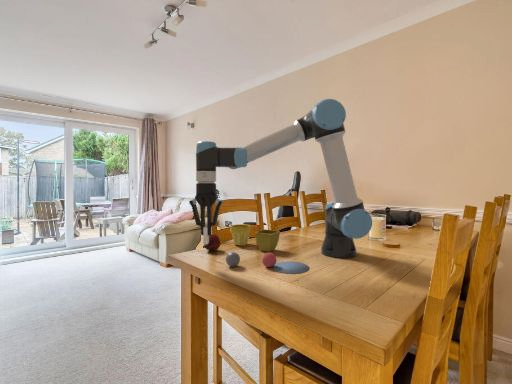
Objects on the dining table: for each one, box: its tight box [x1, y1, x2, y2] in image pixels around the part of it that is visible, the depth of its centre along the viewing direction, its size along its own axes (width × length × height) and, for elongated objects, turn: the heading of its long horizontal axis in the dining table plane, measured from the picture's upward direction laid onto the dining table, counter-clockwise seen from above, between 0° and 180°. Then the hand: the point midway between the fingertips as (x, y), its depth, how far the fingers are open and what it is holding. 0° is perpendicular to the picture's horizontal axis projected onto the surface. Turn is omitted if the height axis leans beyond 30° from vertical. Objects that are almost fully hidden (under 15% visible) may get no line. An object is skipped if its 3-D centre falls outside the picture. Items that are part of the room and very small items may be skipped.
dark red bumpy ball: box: [203, 233, 221, 252], centre depth 125 cm, size 7×8×8 cm
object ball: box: [261, 252, 277, 268], centre depth 102 cm, size 6×6×6 cm
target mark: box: [271, 260, 310, 275], centre depth 101 cm, size 14×14×1 cm
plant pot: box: [229, 223, 251, 247], centre depth 137 cm, size 10×10×10 cm
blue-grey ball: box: [225, 251, 241, 268], centre depth 102 cm, size 6×6×6 cm
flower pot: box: [254, 229, 280, 253], centre depth 126 cm, size 9×9×9 cm
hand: (206, 243), depth 103 cm, fingers closed
